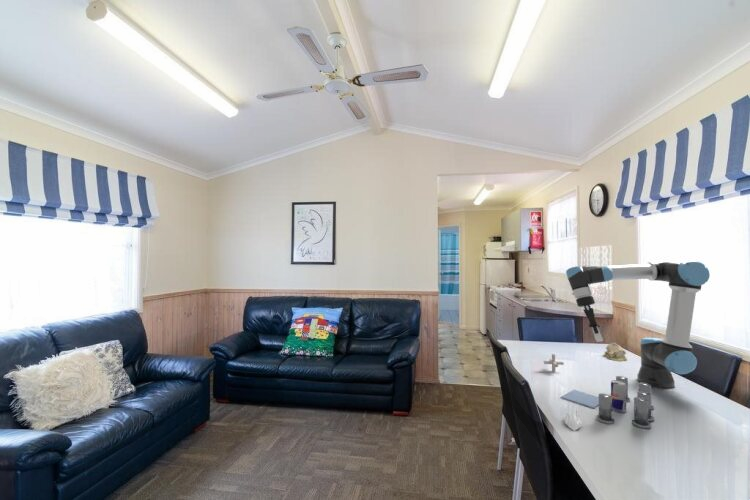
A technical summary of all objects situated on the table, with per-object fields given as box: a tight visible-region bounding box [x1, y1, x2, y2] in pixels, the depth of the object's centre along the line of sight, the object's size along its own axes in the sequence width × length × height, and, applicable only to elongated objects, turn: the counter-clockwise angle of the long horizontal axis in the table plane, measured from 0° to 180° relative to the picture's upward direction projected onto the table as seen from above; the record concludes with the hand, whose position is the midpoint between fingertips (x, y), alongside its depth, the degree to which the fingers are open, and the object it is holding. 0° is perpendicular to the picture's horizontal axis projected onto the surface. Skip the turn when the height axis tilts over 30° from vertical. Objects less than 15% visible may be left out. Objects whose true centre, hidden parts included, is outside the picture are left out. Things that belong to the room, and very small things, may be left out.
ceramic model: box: [604, 342, 628, 362], centre depth 220 cm, size 14×11×10 cm
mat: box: [560, 389, 599, 409], centre depth 158 cm, size 14×14×1 cm
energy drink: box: [610, 379, 627, 414], centre depth 146 cm, size 5×5×12 cm
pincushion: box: [563, 410, 583, 432], centre depth 135 cm, size 12×6×6 cm, turn 153°
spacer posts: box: [596, 375, 655, 430], centre depth 143 cm, size 19×35×10 cm, turn 127°
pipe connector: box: [543, 353, 565, 373], centre depth 195 cm, size 10×10×10 cm
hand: (599, 341), depth 160 cm, fingers open, 13 cm apart
